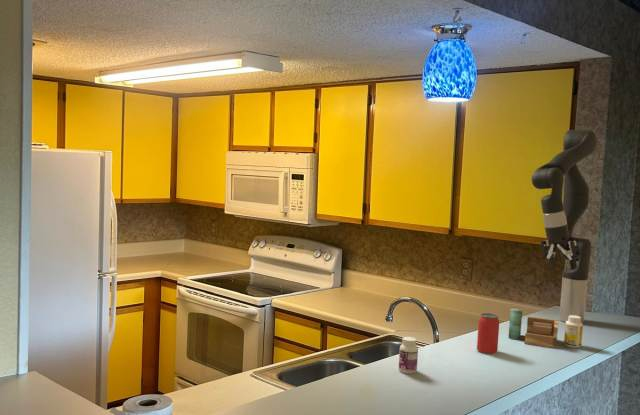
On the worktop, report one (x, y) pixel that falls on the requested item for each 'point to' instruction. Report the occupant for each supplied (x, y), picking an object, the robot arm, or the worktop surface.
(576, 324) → the supplement bottle
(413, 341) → the pill bottle
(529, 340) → the brown u-shaped block
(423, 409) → the worktop surface
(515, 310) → the block
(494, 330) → the beer can
